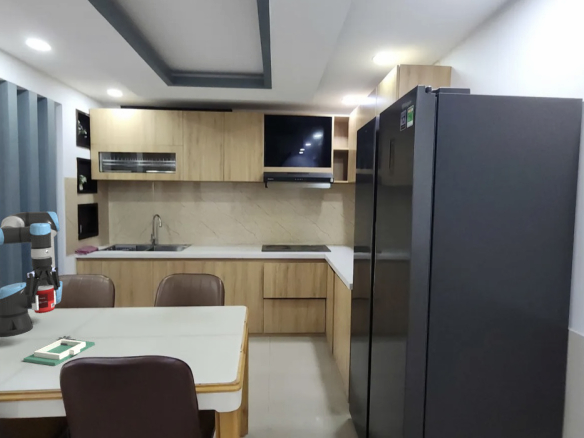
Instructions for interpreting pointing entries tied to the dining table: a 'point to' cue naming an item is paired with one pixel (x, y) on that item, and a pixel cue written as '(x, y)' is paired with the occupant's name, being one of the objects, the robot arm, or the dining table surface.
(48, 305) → the canned food
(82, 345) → the board
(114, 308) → the dining table surface
